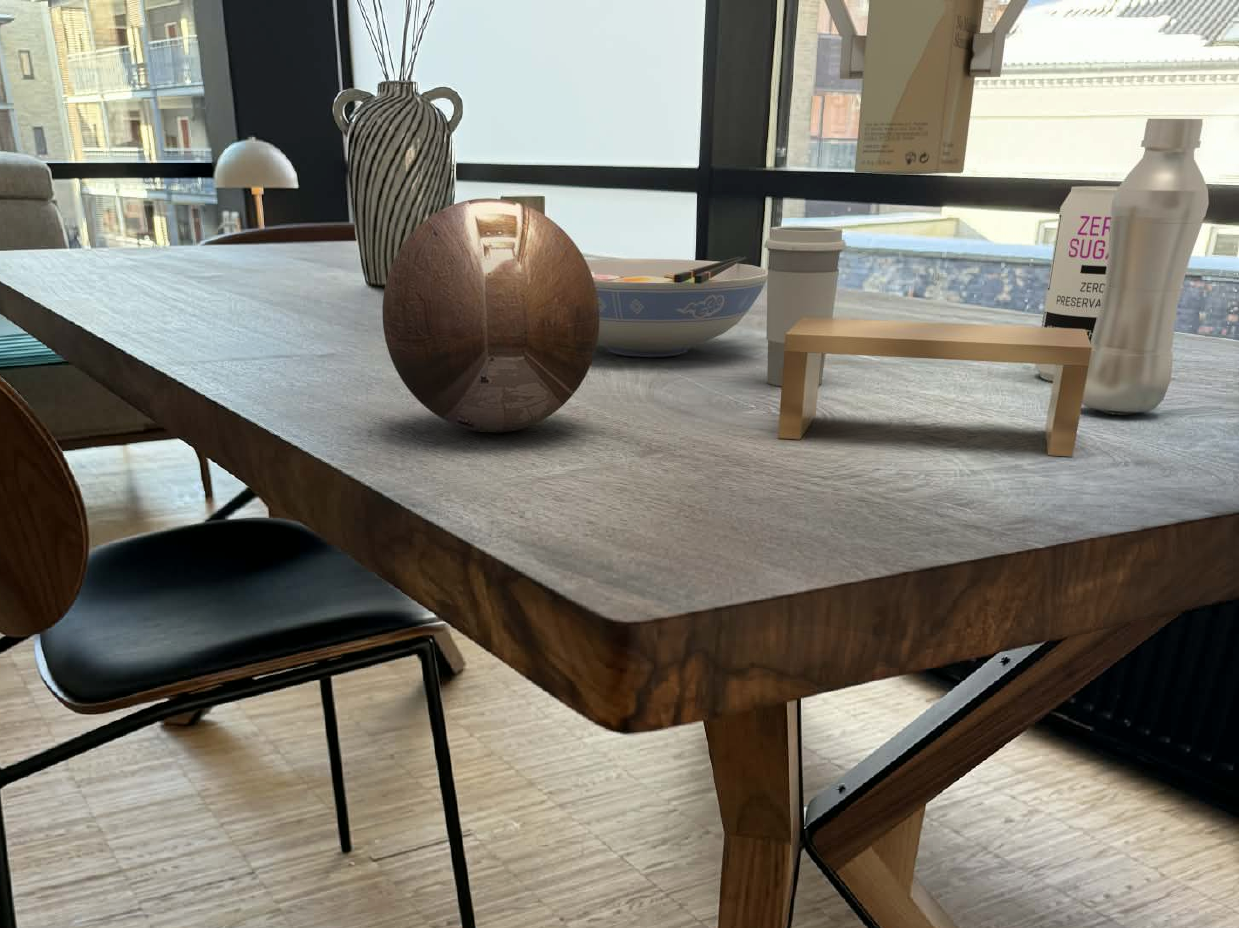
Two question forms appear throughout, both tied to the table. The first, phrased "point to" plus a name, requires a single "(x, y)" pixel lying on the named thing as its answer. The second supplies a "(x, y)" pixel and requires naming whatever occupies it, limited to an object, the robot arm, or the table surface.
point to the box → (917, 86)
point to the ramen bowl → (670, 302)
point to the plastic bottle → (1146, 270)
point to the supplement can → (1078, 263)
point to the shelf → (936, 343)
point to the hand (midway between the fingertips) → (918, 78)
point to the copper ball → (491, 315)
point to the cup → (799, 284)
